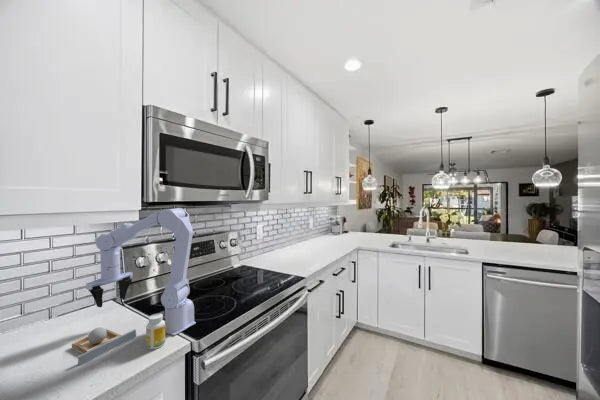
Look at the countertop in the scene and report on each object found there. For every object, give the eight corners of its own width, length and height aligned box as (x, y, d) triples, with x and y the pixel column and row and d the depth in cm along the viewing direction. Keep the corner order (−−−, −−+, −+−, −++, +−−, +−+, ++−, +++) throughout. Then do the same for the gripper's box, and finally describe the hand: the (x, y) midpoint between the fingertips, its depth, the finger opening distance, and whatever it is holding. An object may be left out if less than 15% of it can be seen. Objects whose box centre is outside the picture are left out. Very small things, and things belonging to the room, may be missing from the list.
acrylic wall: (134, 336, 88) (134, 329, 87) (136, 336, 87) (135, 329, 87) (78, 364, 73) (77, 356, 73) (79, 365, 73) (79, 356, 73)
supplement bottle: (143, 350, 80) (142, 320, 79) (151, 340, 85) (150, 312, 85) (161, 349, 80) (160, 319, 80) (168, 339, 86) (167, 311, 85)
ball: (101, 337, 86) (101, 323, 86) (109, 341, 84) (110, 326, 84) (84, 344, 82) (85, 329, 82) (93, 348, 80) (93, 333, 80)
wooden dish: (105, 333, 90) (105, 328, 90) (121, 339, 85) (121, 335, 85) (71, 348, 81) (71, 343, 81) (87, 356, 77) (87, 351, 77)
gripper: (124, 259, 101) (125, 293, 101) (80, 269, 88) (81, 308, 88) (135, 261, 98) (136, 296, 98) (91, 272, 85) (92, 312, 85)
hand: (111, 302), depth 93 cm, fingers open, 7 cm apart
